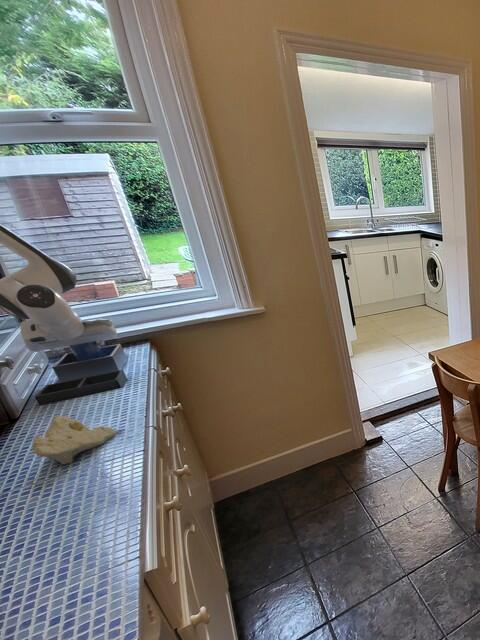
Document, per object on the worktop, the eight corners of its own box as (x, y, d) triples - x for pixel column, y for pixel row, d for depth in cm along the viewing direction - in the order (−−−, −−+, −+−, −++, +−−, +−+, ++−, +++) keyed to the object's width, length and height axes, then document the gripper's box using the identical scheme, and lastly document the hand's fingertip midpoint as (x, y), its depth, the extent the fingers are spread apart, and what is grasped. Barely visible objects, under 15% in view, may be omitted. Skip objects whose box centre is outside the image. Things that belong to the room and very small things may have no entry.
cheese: (94, 442, 102) (6, 435, 89) (111, 418, 102) (26, 407, 89) (112, 481, 95) (19, 480, 82) (130, 456, 95) (40, 450, 82)
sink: (61, 384, 131) (51, 367, 128) (74, 369, 142) (65, 353, 139) (120, 372, 138) (112, 355, 135) (127, 359, 149) (120, 343, 146)
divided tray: (40, 407, 116) (34, 396, 115) (51, 395, 123) (45, 385, 122) (122, 390, 125) (117, 379, 123) (127, 379, 132) (122, 369, 131)
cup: (80, 375, 135) (64, 344, 131) (85, 368, 140) (70, 338, 136) (107, 370, 138) (92, 339, 134) (111, 363, 144) (97, 334, 139)
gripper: (106, 310, 130) (121, 331, 141) (12, 323, 119) (36, 346, 130) (110, 326, 129) (125, 347, 140) (16, 342, 118) (40, 363, 129)
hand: (82, 347), depth 135 cm, fingers open, 8 cm apart
